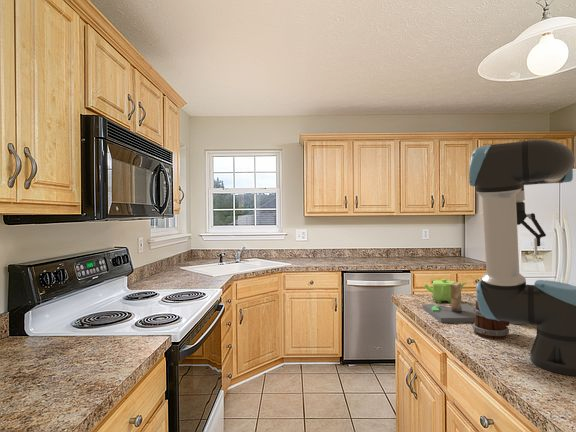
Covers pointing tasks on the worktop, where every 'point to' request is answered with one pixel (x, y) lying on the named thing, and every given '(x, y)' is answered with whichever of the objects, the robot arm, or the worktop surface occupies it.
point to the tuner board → (451, 313)
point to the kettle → (441, 290)
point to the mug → (489, 326)
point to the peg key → (455, 298)
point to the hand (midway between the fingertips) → (515, 254)
